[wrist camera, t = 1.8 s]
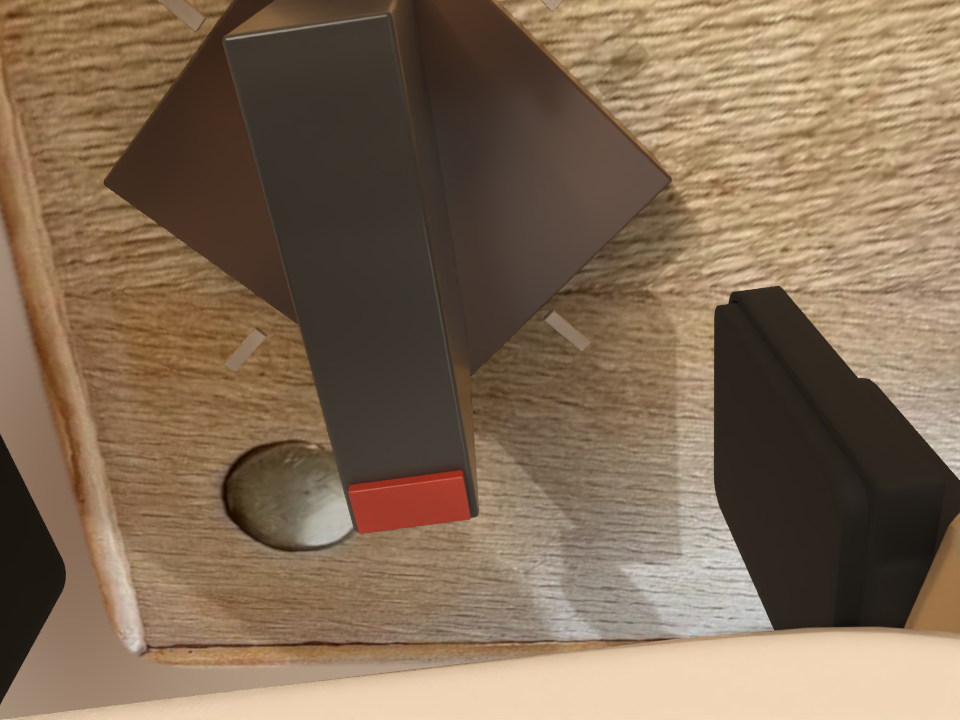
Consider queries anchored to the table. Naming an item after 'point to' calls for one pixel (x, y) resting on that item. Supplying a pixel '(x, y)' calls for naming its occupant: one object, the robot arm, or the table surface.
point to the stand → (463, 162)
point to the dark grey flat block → (365, 247)
